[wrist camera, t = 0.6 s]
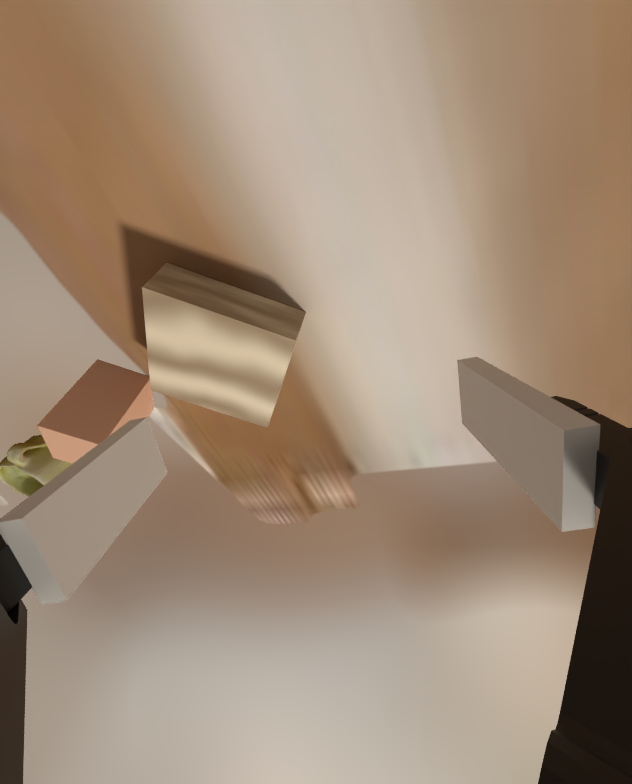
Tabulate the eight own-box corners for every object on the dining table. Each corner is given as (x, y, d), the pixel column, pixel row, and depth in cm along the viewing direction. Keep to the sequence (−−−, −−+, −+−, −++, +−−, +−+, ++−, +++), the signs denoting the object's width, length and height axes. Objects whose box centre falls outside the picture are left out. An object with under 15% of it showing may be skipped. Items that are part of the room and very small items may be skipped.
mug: (86, 480, 69) (34, 517, 61) (46, 449, 70) (-11, 482, 62) (93, 441, 63) (35, 477, 54) (48, 407, 63) (-16, 437, 55)
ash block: (168, 260, 34) (141, 286, 31) (306, 310, 35) (296, 340, 32) (170, 361, 44) (150, 390, 41) (277, 397, 45) (267, 427, 42)
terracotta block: (97, 359, 46) (36, 425, 38) (151, 377, 46) (102, 445, 39) (105, 393, 51) (53, 457, 43) (153, 408, 51) (110, 474, 44)
